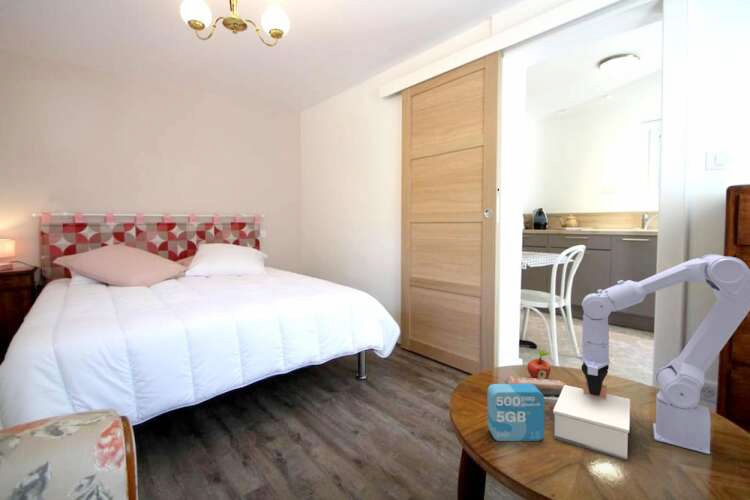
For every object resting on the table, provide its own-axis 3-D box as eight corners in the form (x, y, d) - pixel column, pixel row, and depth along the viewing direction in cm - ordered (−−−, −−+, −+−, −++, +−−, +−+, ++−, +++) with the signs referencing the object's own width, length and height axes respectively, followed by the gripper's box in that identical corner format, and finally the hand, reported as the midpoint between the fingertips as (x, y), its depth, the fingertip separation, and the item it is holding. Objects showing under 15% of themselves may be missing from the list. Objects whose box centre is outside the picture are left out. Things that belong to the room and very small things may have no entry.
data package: (492, 441, 83) (492, 392, 82) (487, 430, 87) (487, 383, 86) (544, 441, 82) (544, 391, 81) (536, 430, 87) (536, 383, 86)
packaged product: (508, 385, 102) (503, 372, 112) (508, 401, 102) (503, 386, 112) (576, 390, 98) (565, 375, 108) (576, 406, 98) (565, 391, 108)
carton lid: (630, 401, 87) (630, 388, 87) (629, 432, 74) (629, 417, 74) (564, 386, 96) (564, 374, 96) (553, 412, 83) (553, 398, 82)
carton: (628, 426, 87) (628, 402, 87) (627, 460, 75) (627, 433, 74) (565, 410, 96) (565, 388, 95) (554, 438, 83) (554, 414, 83)
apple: (549, 387, 109) (549, 356, 109) (525, 383, 113) (525, 352, 112) (551, 378, 116) (551, 349, 115) (529, 374, 120) (529, 346, 119)
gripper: (580, 331, 97) (580, 379, 98) (573, 346, 85) (573, 400, 86) (611, 335, 93) (610, 385, 94) (607, 351, 81) (607, 408, 82)
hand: (594, 393), depth 90 cm, fingers closed on carton lid
